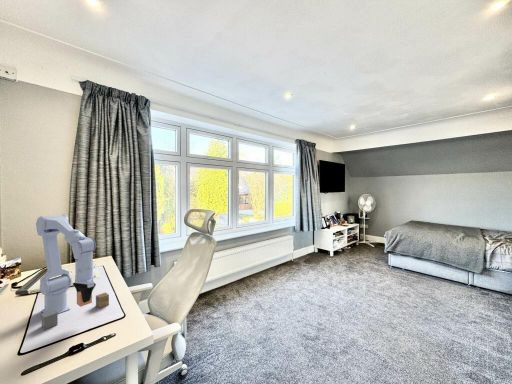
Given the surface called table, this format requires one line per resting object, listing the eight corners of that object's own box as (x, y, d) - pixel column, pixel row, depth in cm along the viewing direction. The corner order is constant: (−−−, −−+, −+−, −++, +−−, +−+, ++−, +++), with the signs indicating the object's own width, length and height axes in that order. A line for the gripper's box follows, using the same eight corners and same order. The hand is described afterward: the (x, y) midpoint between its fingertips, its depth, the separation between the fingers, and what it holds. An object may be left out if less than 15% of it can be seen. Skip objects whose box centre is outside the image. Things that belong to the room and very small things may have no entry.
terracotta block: (76, 303, 92) (76, 292, 92) (88, 299, 95) (88, 288, 95) (80, 306, 90) (80, 294, 90) (91, 302, 93) (91, 291, 93)
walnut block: (95, 305, 105) (95, 295, 105) (105, 302, 109) (105, 292, 108) (99, 308, 103) (99, 297, 103) (108, 304, 106) (108, 294, 106)
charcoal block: (41, 326, 90) (41, 314, 89) (54, 321, 93) (54, 309, 93) (44, 329, 87) (44, 317, 87) (57, 324, 91) (57, 312, 91)
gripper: (102, 268, 91) (102, 300, 92) (88, 261, 100) (88, 291, 100) (81, 274, 86) (82, 308, 86) (69, 266, 94) (69, 297, 94)
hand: (84, 299), depth 92 cm, fingers closed on terracotta block, 4 cm apart
